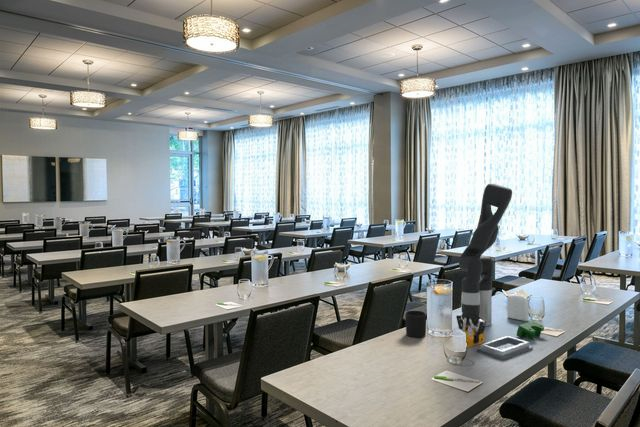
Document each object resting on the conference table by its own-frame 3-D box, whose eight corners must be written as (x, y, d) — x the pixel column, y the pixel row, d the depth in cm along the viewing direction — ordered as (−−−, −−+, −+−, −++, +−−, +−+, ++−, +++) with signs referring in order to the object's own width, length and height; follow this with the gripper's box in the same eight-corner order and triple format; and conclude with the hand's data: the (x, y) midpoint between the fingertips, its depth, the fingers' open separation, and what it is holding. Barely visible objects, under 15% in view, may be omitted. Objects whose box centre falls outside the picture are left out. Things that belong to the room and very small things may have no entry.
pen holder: (430, 334, 209) (430, 312, 208) (419, 339, 202) (419, 317, 201) (412, 330, 215) (412, 309, 215) (401, 335, 208) (401, 313, 208)
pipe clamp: (475, 339, 200) (475, 325, 200) (484, 342, 197) (484, 327, 196) (457, 345, 194) (456, 330, 194) (465, 347, 190) (465, 332, 190)
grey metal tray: (477, 351, 186) (477, 344, 186) (506, 341, 197) (506, 334, 197) (503, 360, 176) (503, 352, 176) (532, 349, 187) (532, 342, 187)
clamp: (528, 349, 200) (528, 333, 196) (516, 342, 205) (516, 327, 200) (545, 335, 205) (545, 319, 201) (533, 328, 209) (533, 313, 205)
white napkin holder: (505, 317, 233) (506, 293, 233) (510, 316, 236) (510, 292, 235) (525, 322, 225) (525, 297, 225) (529, 320, 228) (530, 295, 227)
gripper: (451, 300, 198) (451, 339, 199) (479, 306, 187) (479, 347, 187) (462, 297, 203) (463, 335, 203) (490, 303, 191) (490, 344, 192)
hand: (471, 341), depth 195 cm, fingers closed on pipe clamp, 4 cm apart
